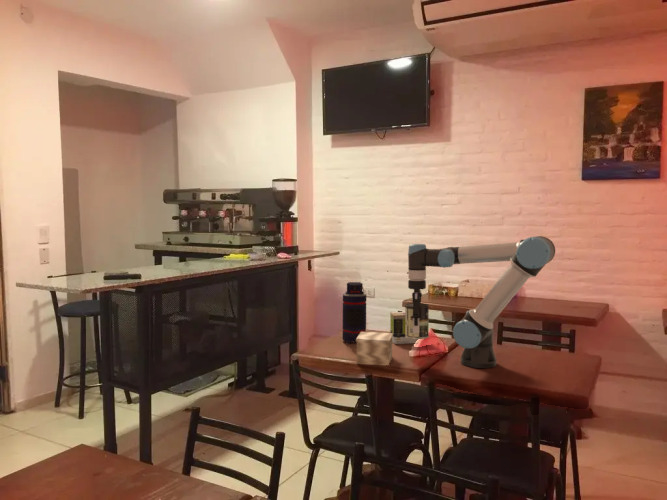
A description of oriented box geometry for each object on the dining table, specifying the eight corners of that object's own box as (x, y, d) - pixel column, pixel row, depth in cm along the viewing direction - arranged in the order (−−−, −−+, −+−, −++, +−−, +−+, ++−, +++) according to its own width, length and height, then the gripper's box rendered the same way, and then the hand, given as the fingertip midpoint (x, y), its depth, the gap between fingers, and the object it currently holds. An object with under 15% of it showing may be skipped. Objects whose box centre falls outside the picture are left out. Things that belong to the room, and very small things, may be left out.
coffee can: (426, 334, 251) (427, 302, 250) (430, 339, 241) (430, 306, 240) (403, 334, 251) (403, 302, 250) (406, 339, 241) (406, 306, 240)
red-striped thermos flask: (366, 344, 280) (367, 284, 278) (342, 344, 280) (343, 284, 278) (364, 338, 294) (365, 280, 292) (341, 337, 294) (342, 280, 292)
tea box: (418, 339, 292) (419, 311, 291) (423, 344, 282) (423, 314, 281) (389, 339, 291) (390, 311, 290) (393, 344, 281) (393, 314, 280)
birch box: (392, 357, 256) (393, 333, 256) (389, 365, 242) (389, 340, 241) (360, 355, 259) (361, 331, 258) (355, 363, 245) (355, 338, 244)
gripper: (410, 276, 256) (410, 324, 258) (406, 282, 234) (406, 335, 236) (426, 276, 255) (426, 325, 256) (424, 282, 233) (424, 336, 234)
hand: (416, 330), depth 246 cm, fingers closed on coffee can, 10 cm apart
